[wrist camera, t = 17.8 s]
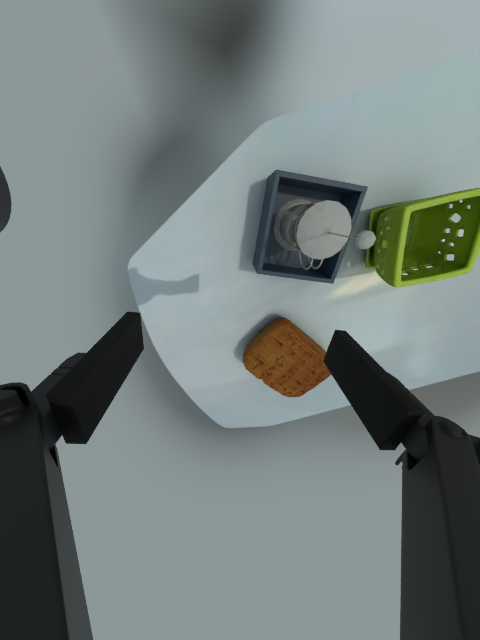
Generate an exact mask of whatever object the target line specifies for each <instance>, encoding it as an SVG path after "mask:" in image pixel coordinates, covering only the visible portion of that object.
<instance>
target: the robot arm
mask: <svg viewBox="0 0 480 640" xmlns="http://www.w3.org/2000/svg"><path fill="white" fill-rule="evenodd" d="M143 349H144V346H143V336H142V326H141V316H140V313H136V312H127V313H126V314H125V315H124V316H123V317H122V318H121V319H120V320H119V321H118V322H117V323H116V324H115V325H114V326H113V327H112V328H111V329H110V330H109V331H108V332H107V333H106V334H105V335H104V336H103V337H102V338H101V339H100V340H99V341H98V342H97V343H96V344H95V345H94V346H93V347H92V348H91V349H90V350H89V351H88V352H87V353H77V354H75V355H73V356H72V357H69V358H68V359H66V360H65V361H64V362H63V363H62V364H61V365H60V366H59V367H58V368H57V369H55V370H54V371H53V372H52V373H51V375H49V376H48V377H47V378H46V379H45V380H43V381H42V382H41V383H40V384H39V385H38V386H37V387H36V388H35V389H34V390H33V391H32V392H31V391H30V389H29V387H28V386H27V385H26V384H23V383H8V384H4V385H0V640H93V637H92V631H91V627H90V620H89V615H88V610H87V605H86V600H85V594H84V589H83V584H82V578H81V573H80V568H79V562H78V557H77V552H76V547H75V541H74V536H73V530H72V525H71V520H70V515H69V509H68V504H67V499H66V493H65V488H64V484H63V478H62V473H61V467H60V462H59V456H58V451H57V447H56V445H55V443H56V442H57V441H58V440H59V438H60V437H61V435H63V437H64V440H65V442H66V443H68V444H69V443H70V444H86V443H87V442H88V440H89V439H90V437H91V435H92V433H93V431H94V430H95V429H96V427H97V425H98V424H99V422H100V420H101V419H102V417H103V415H104V414H105V412H106V410H107V409H108V407H109V405H110V404H111V402H112V400H113V399H114V397H115V395H116V394H117V392H118V390H119V389H120V387H121V385H122V384H123V382H124V380H125V379H126V377H127V376H128V374H129V372H130V371H131V369H132V367H133V365H134V364H135V362H136V361H137V359H138V357H139V356H140V354H141V352H142V351H143ZM323 362H324V363H325V365H326V366H327V368H328V370H329V371H330V373H331V374H332V376H333V377H334V379H335V380H336V382H337V384H338V385H339V387H340V388H341V390H342V391H343V393H344V394H345V396H346V398H347V399H348V401H349V402H350V404H351V405H352V407H353V408H354V410H355V412H356V413H357V414H358V416H359V418H360V419H361V421H362V423H363V424H364V426H365V427H366V429H367V430H368V432H369V433H370V435H371V437H372V438H373V440H374V441H375V443H376V444H377V446H378V447H379V449H380V450H395V449H396V448H397V446H398V445H399V444H400V443H401V442H402V444H403V445H404V447H405V448H406V450H405V451H404V452H403V453H402V454H401V456H400V457H399V458H398V459H397V460H396V462H395V464H396V465H399V463H400V462H403V466H402V540H401V542H402V545H401V612H400V615H401V616H400V640H480V438H479V437H475V436H472V435H469V434H467V433H466V431H465V430H464V429H463V428H461V427H460V426H459V425H457V424H456V423H454V422H452V421H450V420H449V419H446V418H443V417H439V416H434V415H433V414H432V413H431V412H430V411H429V410H428V409H427V408H426V407H425V406H424V405H423V404H422V403H421V402H420V401H419V400H418V399H417V398H416V397H415V396H414V395H413V394H411V392H410V391H409V390H408V389H407V388H405V386H404V385H403V384H402V383H401V382H400V381H399V380H398V379H397V378H395V377H394V376H392V375H391V374H389V373H388V372H386V371H385V370H384V369H383V368H382V367H381V366H380V365H379V364H378V363H377V362H376V361H375V360H374V359H373V358H372V357H371V356H370V355H369V354H368V353H367V352H366V351H365V350H364V349H363V348H362V347H361V346H360V345H359V344H358V343H357V342H356V341H355V340H354V339H353V338H352V337H351V336H350V335H349V334H348V333H347V332H346V331H341V330H335V332H334V335H333V337H332V340H331V342H330V345H329V347H328V350H327V352H326V355H325V357H324V360H323Z"/></svg>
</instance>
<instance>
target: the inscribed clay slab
mask: <svg viewBox="0 0 480 640" xmlns="http://www.w3.org/2000/svg"><path fill="white" fill-rule="evenodd" d="M325 355H326V351H325V350H324V349H323V348H322V347H320V346H319V345H318V344H317V343H316V342H315V341H314V340H312V339H311V338H310V337H309V336H308V335H306V334H305V333H304V332H303V331H302V330H300V329H299V328H298V327H297V326H296V325H294V324H293V323H292V322H291V321H289V320H288V319H286V318H279V319H276V320H274V321H272V322H271V323H270V324H268V325H267V326H266V327H265V328H264V329H263V330H262V332H260V333H259V335H257V336H256V337H255V338H254V339H253V340H252V341H251V342H250V344H249V345H248V346H247V348H246V350H245V351H244V354H243V358H244V359H243V363H244V365H245V367H246V369H247V370H248V371H249V372H251V373H252V374H253V375H254V376H255V377H256V378H258V379H262V380H263V382H264V383H265V384H266V385H268V386H269V387H271V388H272V389H274V390H275V391H277V392H279V393H280V394H282V395H284V396H287V397H300V396H302V395H304V394H305V393H306V392H307V391H309V390H311V389H312V388H314V387H315V386H317V385H318V384H319V383H321V382H322V381H324V380H325V379H326V378H328V377H329V376H330V375H331V373H330V371H329V370H328V368H327V366H326V365H325V363H324V362H323V360H324V357H325Z"/></svg>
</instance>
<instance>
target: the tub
mask: <svg viewBox="0 0 480 640" xmlns="http://www.w3.org/2000/svg"><path fill="white" fill-rule="evenodd" d="M367 188H368V187H366V186H360V185H355V184H350V183H344V182H339V181H334V180H328V179H323V178H318V177H312V176H307V175H302V174H296V173H291V172H286V171H280V170H276V171H274V172H273V173H272V174H271V175H270V176H269V177H268V179H267V185H266V191H265V197H264V203H263V209H262V215H261V220H260V226H259V232H258V238H257V244H256V250H255V256H254V262H253V265H254V267H255V270H256V272H257V274H264V275H272V276H279V277H287V278H295V279H302V280H310V281H318V282H325V283H334V279H335V277H336V274H337V271H338V268H339V266H340V263H341V260H342V257H343V255H344V252H345V249H346V246H347V243H348V241H349V238H348V241H347V242H346V243H345V245H344V246H343V247H342V249H341V250H340V251H339V252H337V253H336V254H334V255H333V256H332V257H328V258H325V259H323V261H322V264H321V265H320V267H319V268H317V269H314V268H312V267H310V268H309V269H308V270H305V269H304V268H303V267H302V265H301V263H300V258H299V250H297V251H294V250H287V249H286V248H284V247H282V246H281V245H280V244H279V243H278V241H277V240H276V238H275V233H274V223H275V218H276V216H277V214H278V212H279V211H280V209H281V208H282V207H283V206H284V205H285V204H287V203H288V202H289V201H293V200H296V199H304V200H309V201H310V202H311V203H319V202H323V201H326V200H330V201H336V202H339V203H341V204H342V205H343V206H344V207H346V208H347V210H348V212H349V214H350V216H351V232H352V230H353V227H354V224H355V221H356V218H357V216H358V213H359V210H360V207H361V204H362V202H363V199H364V196H365V192H366V191H367ZM351 232H350V235H351ZM350 235H349V236H350ZM300 255H301V261H302V264H303V266H304V267H305V268H308V267H309V266H310V263H309V260H308V256H307V255H305V254H303V252H302V251H300ZM309 259H310V262H311V261H312V258H310V257H309ZM320 263H321V259H313V263H312V265H313V266H314V267H318V266H319V264H320Z"/></svg>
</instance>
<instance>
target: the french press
mask: <svg viewBox="0 0 480 640" xmlns="http://www.w3.org/2000/svg"><path fill="white" fill-rule="evenodd" d="M350 232H351V216H350V214H349V212H348V210H347V208H346V207H344V206H343V205H342V204H341V203H339V202H336V201H330V200H326V201H323V202H319V203H311V202H310V201H309V200H304V199H296V200H293V201H289V202H288V203H287V204H285V205H284V206H283V207H282V208H281V209H280V211H279V212H278V214H277V216H276V218H275V223H274V233H275V238H276V240H277V241H278V243H279V244H280V245H281V246H282V247H284V248H286V249H287V250H294V251H297V250H299V258H300V263H301V265H302V267H303V268H304V269H305V270H308V269H309V268H310V267H312V268H314V269H317V268H319V267H320V265H321V264H322V261H323V259H325V258H328V257H332V256H333V255H334V254H336V253H337V252H339V251H340V250H341V249H342V247H343V246H344V245H345V243H346V242H347V241H348V238H351V239H355V246H356V247H357V248H358V249H365V250H366V249H368V248H370V247H371V246H373V245H374V242H375V240H376V237H375V235H374V233H373V232H372V231H367V230H364V231H361V232H360V233H359V234H358V235H357V236H356V238H355V237H350V236H349V235H350ZM300 251H302V252H303V254H305V255H307V256H308V260H309V263H310V266H309V267H308V268H305V267H304V266H303V264H302V261H301V255H300ZM309 257H310V258H312V261H311V262H310V259H309ZM313 259H321V263H320V264H319V266H318V267H314V266H313V265H312V263H313Z"/></svg>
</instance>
